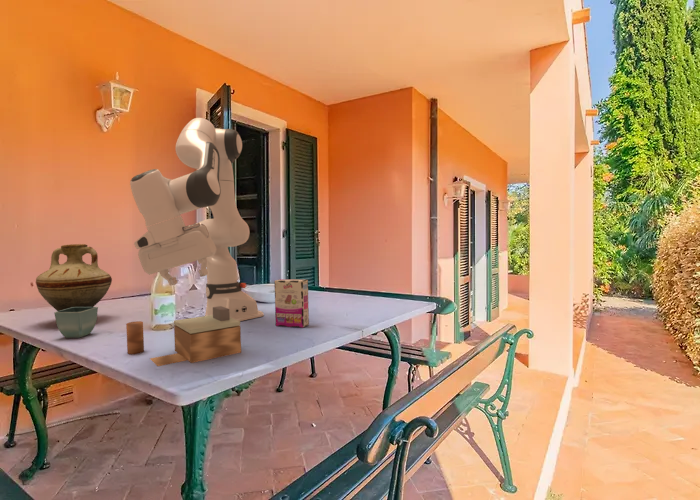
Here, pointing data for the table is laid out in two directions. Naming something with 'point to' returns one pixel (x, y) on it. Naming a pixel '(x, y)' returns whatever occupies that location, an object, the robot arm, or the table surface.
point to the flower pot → (76, 321)
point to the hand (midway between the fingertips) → (189, 280)
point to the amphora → (73, 279)
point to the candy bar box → (291, 303)
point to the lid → (208, 321)
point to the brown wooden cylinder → (135, 337)
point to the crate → (202, 345)
